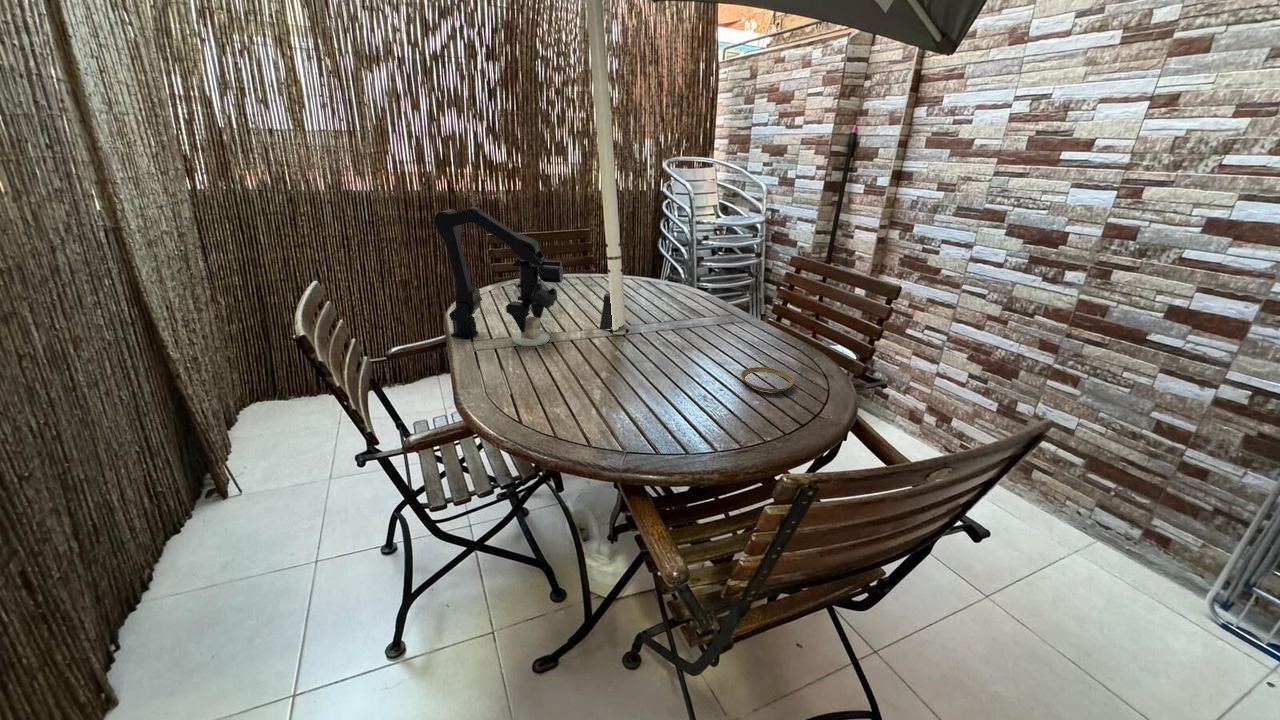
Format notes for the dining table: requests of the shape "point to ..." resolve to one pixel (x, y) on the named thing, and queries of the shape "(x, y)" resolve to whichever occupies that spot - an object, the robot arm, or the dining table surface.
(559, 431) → the dining table surface
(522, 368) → the dining table surface
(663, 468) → the dining table surface
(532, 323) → the birch block
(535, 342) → the dish
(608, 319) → the phone stand
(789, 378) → the tan ring
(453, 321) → the robot arm
